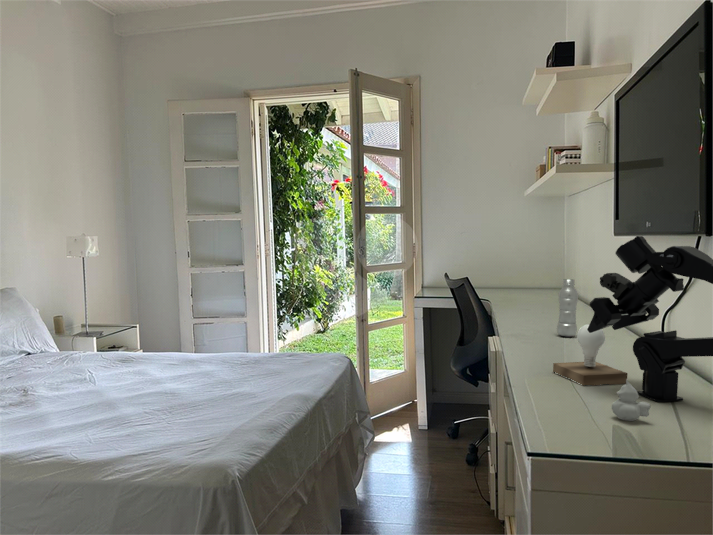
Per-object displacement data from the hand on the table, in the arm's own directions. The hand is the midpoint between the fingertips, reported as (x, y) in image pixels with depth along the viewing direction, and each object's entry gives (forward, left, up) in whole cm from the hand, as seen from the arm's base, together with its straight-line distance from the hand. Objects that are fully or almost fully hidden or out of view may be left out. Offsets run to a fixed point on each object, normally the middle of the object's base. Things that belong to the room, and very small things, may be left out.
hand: (601, 329), depth 129 cm
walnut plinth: (+3, +1, -12) cm, 13 cm away
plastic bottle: (+52, -27, -13) cm, 60 cm away
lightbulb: (+3, +1, -10) cm, 11 cm away
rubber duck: (-25, +13, -13) cm, 31 cm away
